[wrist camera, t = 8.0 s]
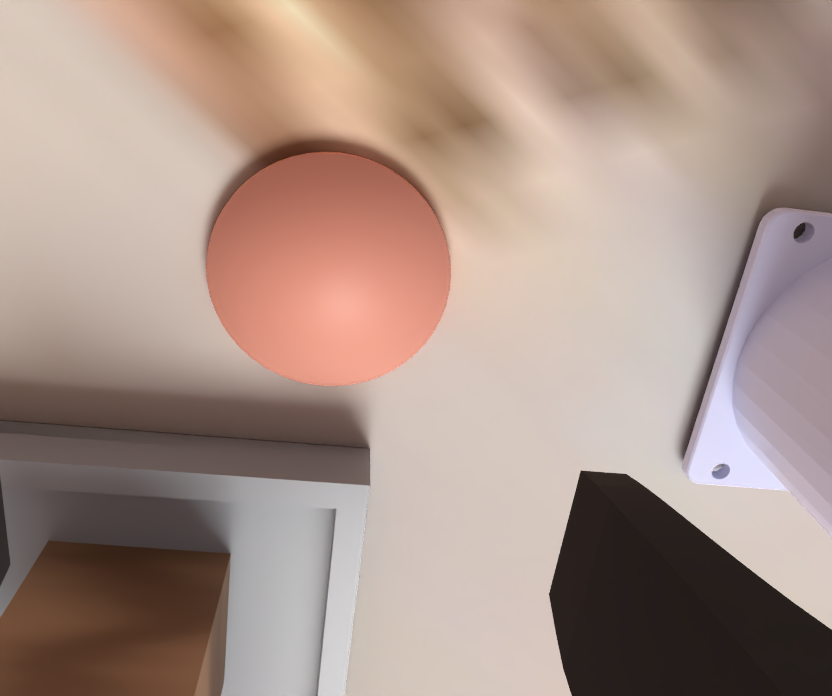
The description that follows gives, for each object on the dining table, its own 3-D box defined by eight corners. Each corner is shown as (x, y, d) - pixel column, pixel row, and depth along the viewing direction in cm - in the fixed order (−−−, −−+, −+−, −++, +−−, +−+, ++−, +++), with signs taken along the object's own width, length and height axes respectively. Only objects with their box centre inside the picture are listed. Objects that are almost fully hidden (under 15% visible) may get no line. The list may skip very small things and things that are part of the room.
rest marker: (466, 167, 17) (467, 169, 17) (432, 389, 20) (433, 394, 19) (210, 136, 17) (208, 138, 16) (207, 370, 19) (205, 375, 19)
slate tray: (369, 448, 20) (369, 485, 19) (334, 745, 25) (332, 795, 23) (-86, 413, 19) (-129, 450, 17) (-33, 734, 24) (-63, 786, 22)
